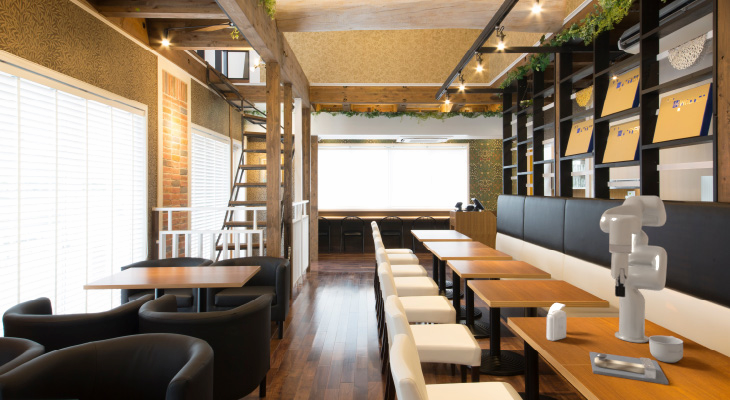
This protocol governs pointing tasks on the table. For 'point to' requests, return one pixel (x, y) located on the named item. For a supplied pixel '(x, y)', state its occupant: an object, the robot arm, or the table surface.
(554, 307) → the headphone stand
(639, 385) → the table surface
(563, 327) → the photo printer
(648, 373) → the keeper
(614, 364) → the link
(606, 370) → the slate board
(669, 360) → the teacup
